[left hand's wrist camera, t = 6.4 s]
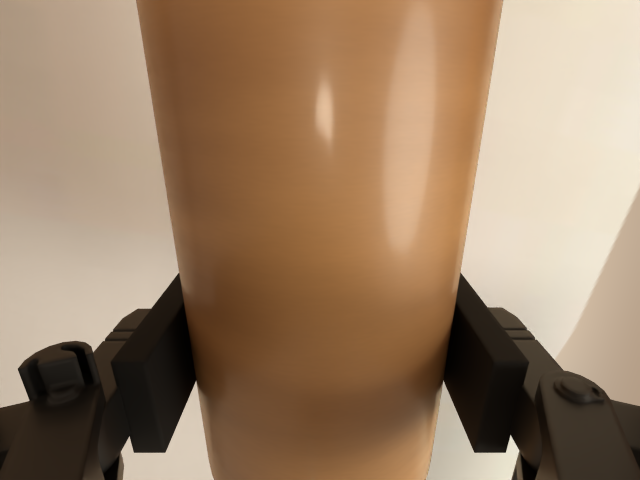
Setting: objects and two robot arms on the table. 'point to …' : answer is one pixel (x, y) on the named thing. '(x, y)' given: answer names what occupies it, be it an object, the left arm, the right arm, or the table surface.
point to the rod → (319, 219)
